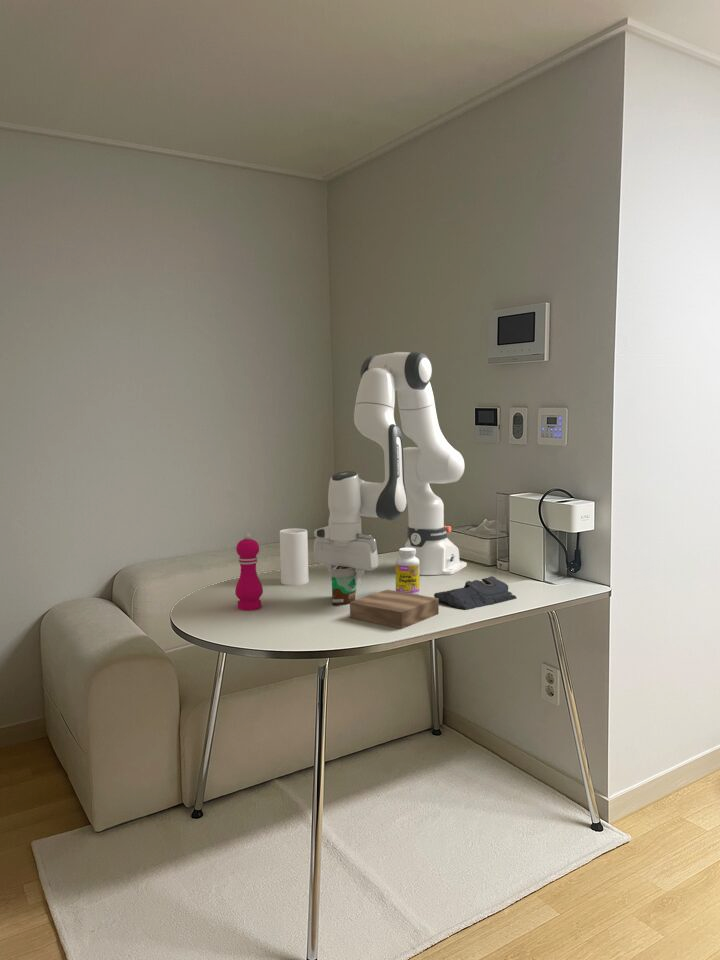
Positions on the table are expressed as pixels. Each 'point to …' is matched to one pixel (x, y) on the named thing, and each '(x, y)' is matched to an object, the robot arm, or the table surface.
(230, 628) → the table surface
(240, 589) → the pepper mill
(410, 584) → the supplement bottle
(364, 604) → the walnut base
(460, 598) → the folded dark cloth
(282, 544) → the cup
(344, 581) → the food container
